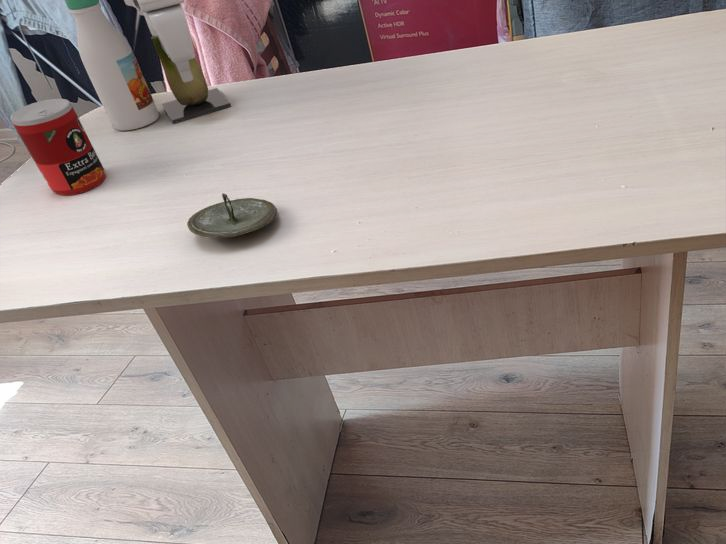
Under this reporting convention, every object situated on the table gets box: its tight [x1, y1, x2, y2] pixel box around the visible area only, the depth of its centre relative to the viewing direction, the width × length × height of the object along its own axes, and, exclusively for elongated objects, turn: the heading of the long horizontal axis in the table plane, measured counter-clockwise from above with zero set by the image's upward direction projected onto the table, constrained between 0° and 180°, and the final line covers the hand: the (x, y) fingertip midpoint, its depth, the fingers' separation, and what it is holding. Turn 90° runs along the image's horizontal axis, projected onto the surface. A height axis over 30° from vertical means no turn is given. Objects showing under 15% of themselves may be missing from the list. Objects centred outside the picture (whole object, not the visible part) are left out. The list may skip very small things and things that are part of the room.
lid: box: [186, 193, 278, 239], centre depth 81 cm, size 11×10×5 cm
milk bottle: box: [64, 0, 160, 131], centre depth 108 cm, size 8×8×20 cm
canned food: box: [9, 98, 106, 196], centre depth 94 cm, size 8×8×11 cm
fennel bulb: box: [150, 36, 209, 105], centre depth 113 cm, size 6×5×12 cm
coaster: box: [161, 87, 232, 125], centre depth 117 cm, size 10×10×1 cm
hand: (184, 76), depth 114 cm, fingers closed on fennel bulb, 4 cm apart
